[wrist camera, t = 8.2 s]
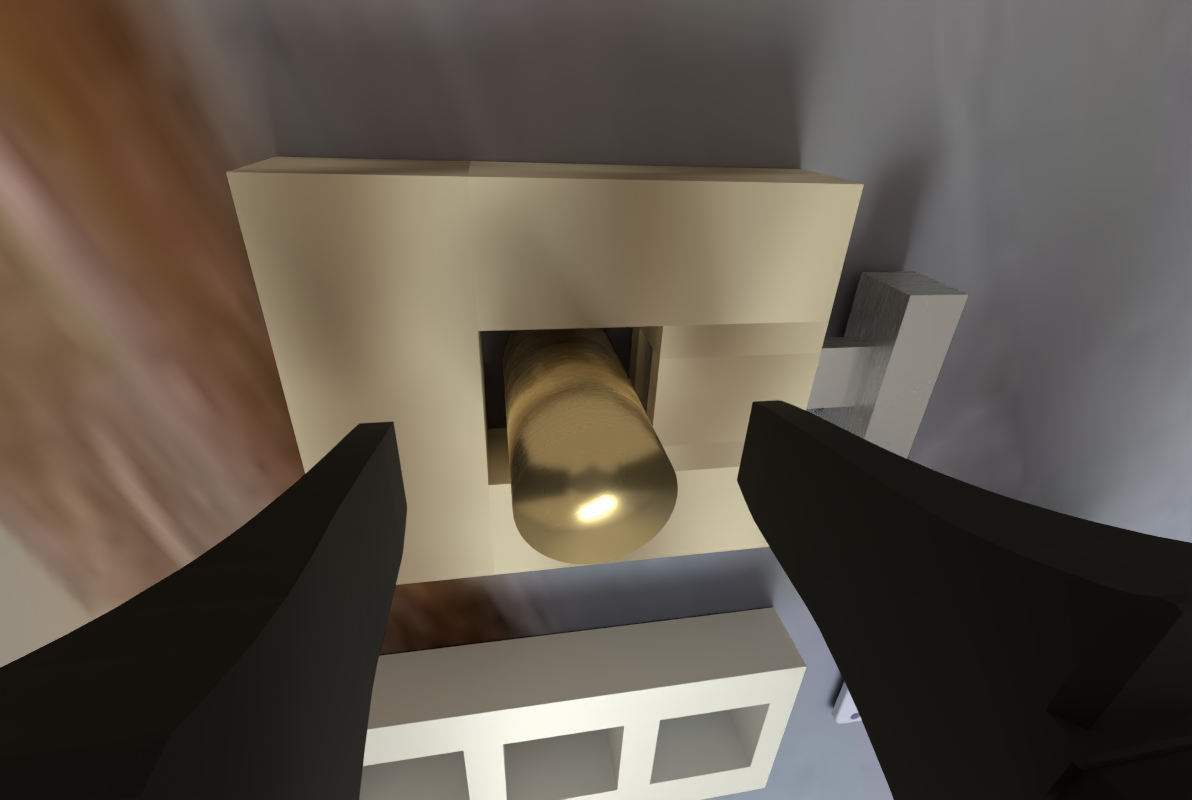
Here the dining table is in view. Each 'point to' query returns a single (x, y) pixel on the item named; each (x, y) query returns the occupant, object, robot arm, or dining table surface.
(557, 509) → the brass cylinder
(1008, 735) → the robot arm
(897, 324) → the white t-shaped block
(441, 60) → the dining table surface
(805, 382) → the socket block
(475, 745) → the rack
